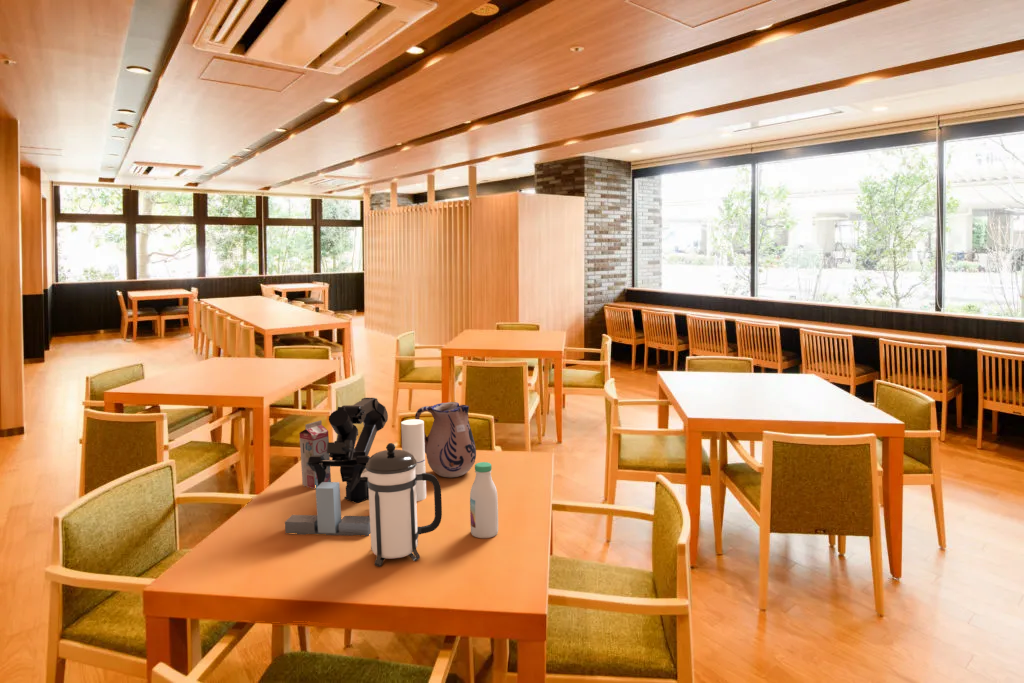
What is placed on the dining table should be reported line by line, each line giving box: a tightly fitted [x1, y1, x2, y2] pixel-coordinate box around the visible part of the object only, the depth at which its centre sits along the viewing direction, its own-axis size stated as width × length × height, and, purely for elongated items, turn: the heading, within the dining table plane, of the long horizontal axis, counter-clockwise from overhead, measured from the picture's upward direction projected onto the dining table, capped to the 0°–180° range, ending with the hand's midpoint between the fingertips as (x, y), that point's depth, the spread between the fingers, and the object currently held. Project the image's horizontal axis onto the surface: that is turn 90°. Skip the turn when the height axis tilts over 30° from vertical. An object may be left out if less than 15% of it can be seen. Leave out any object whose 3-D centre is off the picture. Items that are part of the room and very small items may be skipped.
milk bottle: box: [469, 461, 499, 539], centre depth 177 cm, size 8×8×20 cm
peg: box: [315, 481, 342, 533], centre depth 180 cm, size 5×5×13 cm
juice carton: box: [299, 420, 332, 490], centre depth 218 cm, size 7×7×22 cm
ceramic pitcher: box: [414, 401, 477, 479], centre depth 226 cm, size 18×21×25 cm
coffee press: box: [361, 442, 443, 568], centre depth 165 cm, size 17×16×30 cm
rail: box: [284, 514, 371, 537], centre depth 181 cm, size 5×24×4 cm, turn 85°
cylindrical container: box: [400, 418, 427, 502], centre depth 204 cm, size 7×7×25 cm
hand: (335, 490), depth 185 cm, fingers open, 9 cm apart
